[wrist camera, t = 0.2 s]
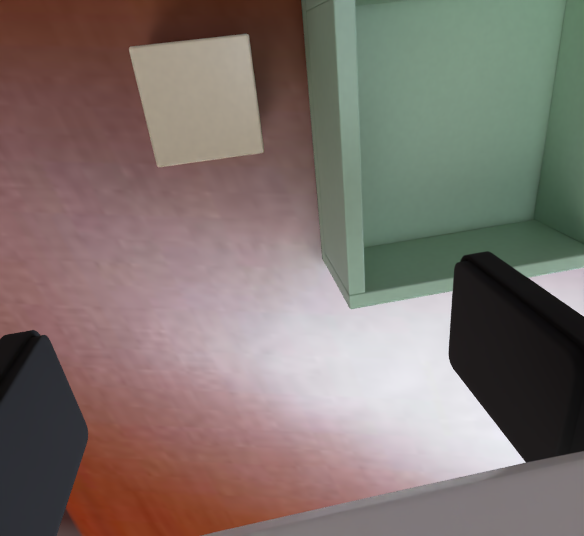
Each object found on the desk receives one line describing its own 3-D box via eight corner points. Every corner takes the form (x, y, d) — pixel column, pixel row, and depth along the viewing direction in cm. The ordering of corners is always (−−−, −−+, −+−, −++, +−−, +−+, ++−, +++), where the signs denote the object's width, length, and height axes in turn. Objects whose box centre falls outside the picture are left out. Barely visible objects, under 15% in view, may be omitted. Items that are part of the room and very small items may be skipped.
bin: (300, -7, 20) (331, -31, 15) (571, -35, 21) (689, -66, 16) (322, 258, 26) (349, 310, 21) (532, 224, 28) (610, 263, 22)
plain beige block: (144, 49, 20) (127, 46, 16) (241, 38, 21) (248, 33, 17) (167, 148, 22) (157, 168, 18) (255, 136, 23) (264, 153, 19)
